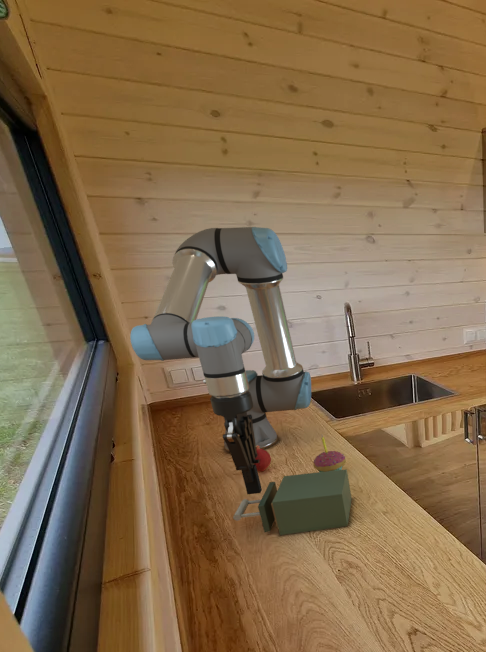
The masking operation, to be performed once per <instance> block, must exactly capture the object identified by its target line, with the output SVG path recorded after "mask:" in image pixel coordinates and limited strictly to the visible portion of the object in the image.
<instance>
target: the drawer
mask: <svg viewBox="0 0 486 652" xmlns="http://www.w3.org/2000/svg"><path fill="white" fill-rule="evenodd" d="M280 484H281V482H280V483H279V485H280ZM277 490H278V488H277V484H276V481H270V482H269V483H268V484H267V487H266V489H265V491H264V493H263V495H262V497H261V499H254V500H249V499H247V498H244V499H242V500H241V502H240V504H239V505H238V507H237V509H236V511H235V512H234V514H233V517H232V518H233V520H234V521H236V522H237V521H238V522H239V521H240V520H241V519H242V518H250V517H257V516H258V517H259V516H260V520H261V525H262V527H263V532H264V533H270V532H272V528H273V526H274V523H275V526H276V528H277V529H278V525H277V520H276V516H275V512H274V508H273V504H272V502H273V499H274V497H275V495H276V493H277ZM254 504H258V505H257V509H258V511H257V512H249V513H245V511H246V510H247V508H248V506H249V505H254Z"/></svg>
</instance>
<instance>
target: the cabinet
mask: <svg viewBox="0 0 486 652" xmlns="http://www.w3.org/2000/svg"><path fill="white" fill-rule="evenodd" d="M348 474H349V473H348V469H342V470H336V471H327V472H319V471H318V472H310V473H309V472H308V473H301V474H299V473H298V474H291V475H284V476H283V477H282V480H281V482H280V483H281V484H280V483H279V487H278V488H277V493H276V495H275V497H274V499H273V502H272V504H273V508H274V512H275V516H276V520H277V525H278V528H277V529H278V532H279V536H284V535H292V534H301V533H307V532H314V531H315V532H316V531H323V530H330V529H338V528H339V529H340V528H346V527H348V526H349V520H350V513H351V506H352V501H353V498H352V493H351V486H350V480H349V475H348Z"/></svg>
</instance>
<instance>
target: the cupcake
mask: <svg viewBox="0 0 486 652" xmlns="http://www.w3.org/2000/svg"><path fill="white" fill-rule="evenodd" d="M321 440H322V441H321V442H322V445H323V450H324V451H323V452H321V453H319V454H318V455H317V456H316V457H315V458H314V459H313V468H314V469H315V470H316V471H318V472H327V471H336V470H343V466H345V465H346V463H347V458H346V455H345V454H344V453H342V452H340V451H336V450H328V448H327V444H326V440H325V437H324V436H323V435H321Z"/></svg>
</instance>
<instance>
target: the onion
mask: <svg viewBox="0 0 486 652" xmlns="http://www.w3.org/2000/svg"><path fill="white" fill-rule="evenodd" d="M259 447H260V446H258V445H257V446H256V450H257V457H256V458H255V459H256V460H257V459H259V463H254V465H255V464H256V467H257V472H260V473H262V472H265V471H266V470H267V469H268V468H269V466H270V465H271V462H272V456H271V454H270V453H269V452H268V451H267V450H265V449H260V448H259Z"/></svg>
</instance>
